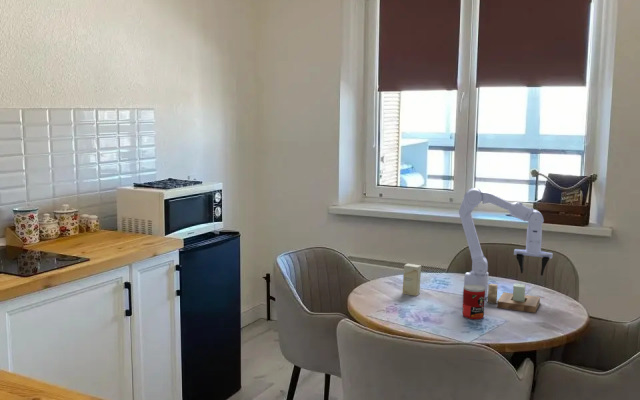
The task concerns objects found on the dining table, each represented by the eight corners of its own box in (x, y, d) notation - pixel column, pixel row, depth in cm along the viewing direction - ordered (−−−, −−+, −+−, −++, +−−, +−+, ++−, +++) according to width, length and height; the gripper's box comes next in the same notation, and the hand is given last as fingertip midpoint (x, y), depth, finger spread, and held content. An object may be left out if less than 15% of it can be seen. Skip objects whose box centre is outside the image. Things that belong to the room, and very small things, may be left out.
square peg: (512, 306, 238) (513, 286, 236) (513, 303, 241) (514, 283, 240) (523, 307, 236) (524, 287, 235) (524, 304, 239) (525, 284, 238)
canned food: (472, 320, 219) (473, 291, 218) (457, 314, 227) (458, 285, 225) (488, 317, 223) (490, 288, 222) (473, 311, 230) (474, 283, 229)
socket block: (497, 307, 236) (497, 301, 235) (503, 297, 248) (503, 292, 248) (535, 312, 229) (535, 306, 229) (539, 302, 242) (540, 297, 242)
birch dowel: (486, 302, 241) (487, 285, 240) (488, 300, 244) (489, 283, 244) (495, 304, 240) (496, 286, 239) (497, 301, 243) (498, 284, 242)
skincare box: (402, 293, 252) (403, 265, 250) (406, 291, 256) (407, 263, 254) (416, 296, 249) (417, 267, 247) (420, 293, 253) (421, 265, 251)
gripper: (513, 240, 244) (511, 273, 245) (552, 244, 237) (550, 278, 239) (516, 237, 250) (514, 270, 252) (553, 241, 244) (551, 274, 245)
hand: (531, 273), depth 246 cm, fingers open, 7 cm apart
